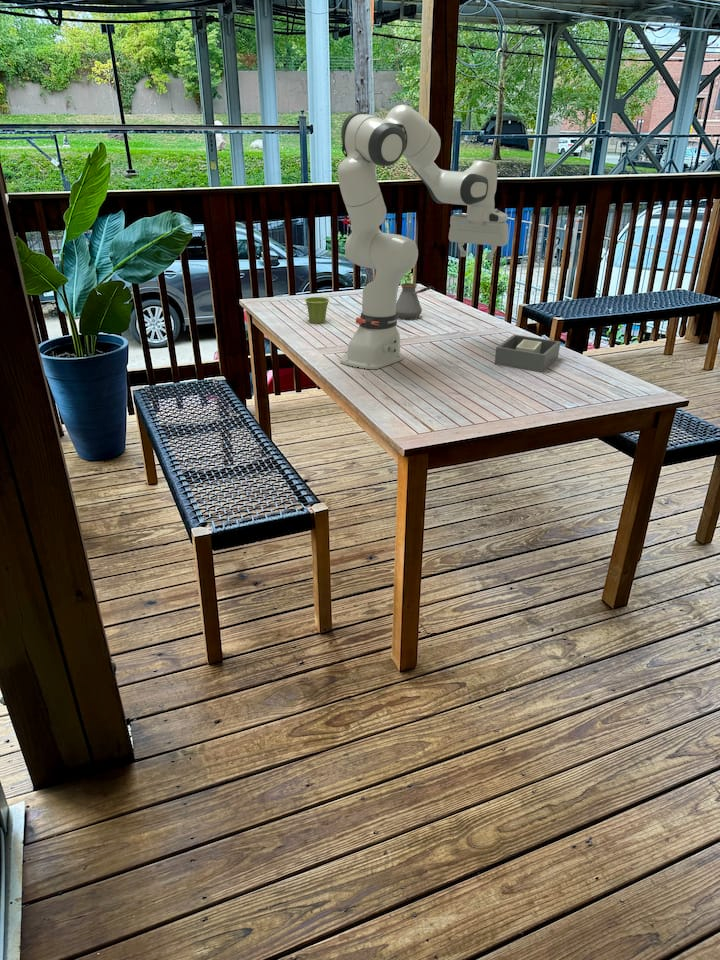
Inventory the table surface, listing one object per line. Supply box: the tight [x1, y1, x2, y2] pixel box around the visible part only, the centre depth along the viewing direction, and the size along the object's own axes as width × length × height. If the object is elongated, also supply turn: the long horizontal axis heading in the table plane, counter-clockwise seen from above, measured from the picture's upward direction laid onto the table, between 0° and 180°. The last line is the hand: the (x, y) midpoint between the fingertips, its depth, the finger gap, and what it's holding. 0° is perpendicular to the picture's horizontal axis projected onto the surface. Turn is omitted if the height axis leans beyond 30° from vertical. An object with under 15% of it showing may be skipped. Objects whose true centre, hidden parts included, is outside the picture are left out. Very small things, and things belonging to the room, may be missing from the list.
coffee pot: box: [396, 282, 434, 320], centre depth 259 cm, size 21×12×15 cm, turn 31°
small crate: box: [516, 339, 542, 353], centre depth 215 cm, size 10×6×5 cm, turn 153°
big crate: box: [494, 334, 561, 373], centre depth 215 cm, size 18×16×6 cm
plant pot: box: [304, 296, 330, 324], centre depth 255 cm, size 9×9×9 cm
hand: (476, 257), depth 222 cm, fingers open, 8 cm apart
